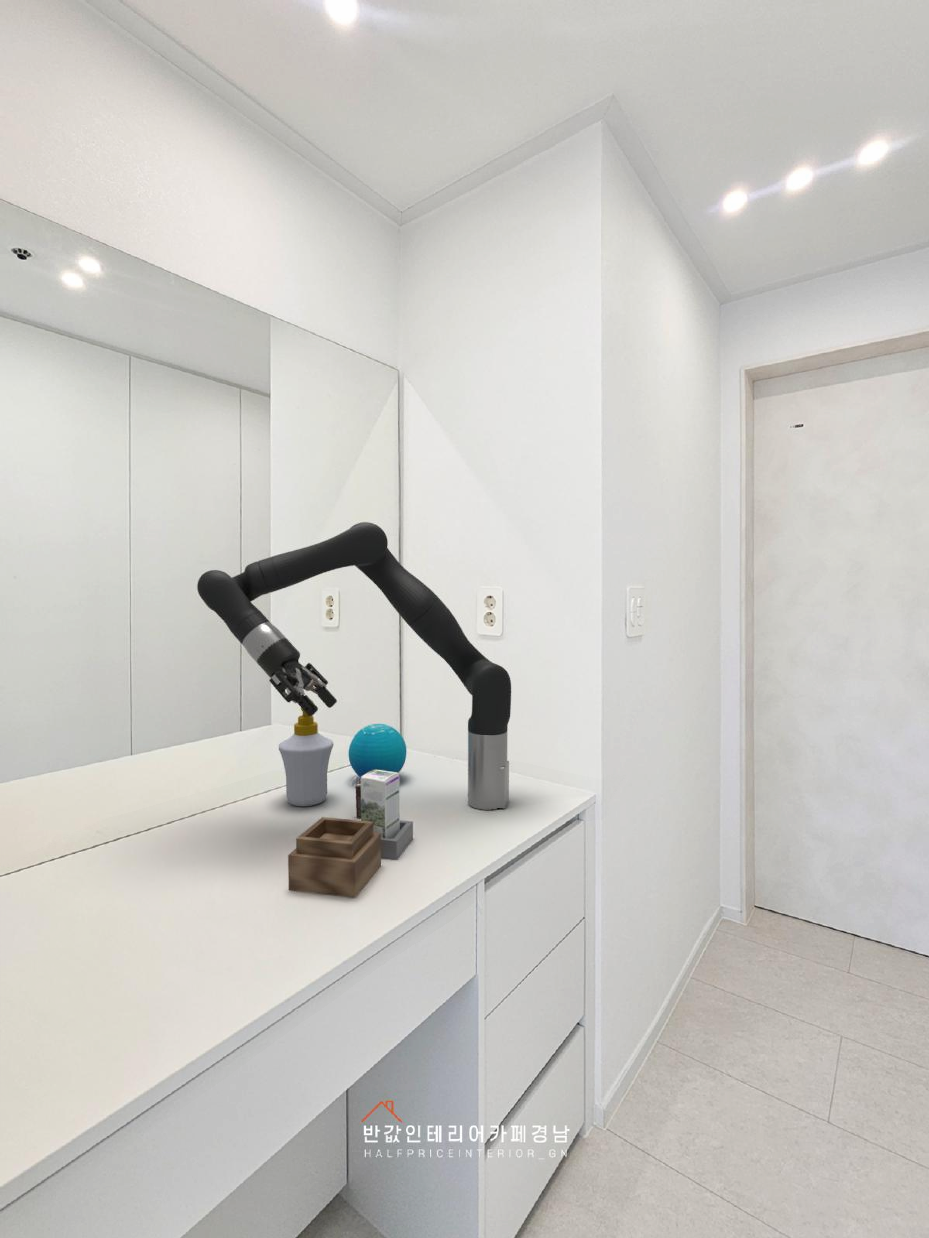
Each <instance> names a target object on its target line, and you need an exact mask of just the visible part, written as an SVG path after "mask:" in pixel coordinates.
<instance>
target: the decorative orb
mask: <svg viewBox="0 0 929 1238" xmlns="http://www.w3.org/2000/svg"><path fill="white" fill-rule="evenodd" d="M348 747H349V749H348V761H349V764H350V766H351V768H352V771H354V772H355V774H356V775H357V776H358V777H360V778H361V777H362V776H363V775H365V774H366V773H368V772H370V771H372V770H375V769H376V770H383V771H390V772H397V773H399V774H400V772H401V771H402V769H403V767H404V766H405V763H406V759H407V745H406V742H405V739H404V737H403V736H402V734H401V733H400V732H399V731H398V730H397V729H396V728H394V727H393V726H390V725H388V724H385V723H372V724H368V725H367V726H363V727H362V728H360V730H358V731H357V733H356V734H355V735H353V738H352V739H351V742H350V744H349V746H348Z"/></svg>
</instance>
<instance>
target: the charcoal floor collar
mask: <svg viewBox="0 0 929 1238" xmlns="http://www.w3.org/2000/svg"><path fill="white" fill-rule="evenodd" d="M413 839H414V821H413V820H404V819H403V820H401V819H400V831H399V832H398V834H397V835H396V836H395V837H394V838H393V839H392V838H381V859H389V860H398V859H399V858H400V856H401V855H402V853H403V852H404V851H405V850H406V848H407V847H408V845H409V844H410V843H411V841H412V840H413Z"/></svg>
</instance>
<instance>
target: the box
mask: <svg viewBox="0 0 929 1238" xmlns="http://www.w3.org/2000/svg"><path fill="white" fill-rule="evenodd" d="M355 804H356V805H355V814H356V815H355V816H356V818H357V819H361V779H360V780H359V782H358V783H357V784H356V786H355Z"/></svg>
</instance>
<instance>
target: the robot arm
mask: <svg viewBox="0 0 929 1238" xmlns="http://www.w3.org/2000/svg"><path fill="white" fill-rule="evenodd" d="M388 541H389V540H388V537H387V534H386V532H385V531H384V530H383V529H382V528H381V527H380V526H378V524H375V523H373V522H370V521H368V522H367V521H362V522H361V521H360V522H358V523H355V524H353V525H352V526H351V527H350V528H348V529H347V530H345V531H343V532H341V533H339V534H337V535H334V536H332V537H331V538H328V539H326V540H323V541H320V542H318V543H316V544H312V545H309V546H305V547H302V548H297V549H294V550H291V551H287V552H286V551H285V552H283V553H280V554H276V555H272V556H270V557H266V558H263V559H260V560H258V561H254V562H251V563H249V564H247V565H246V566H245V567H244V571H243V572H242V573H239V574H237V575H235V576H230V575H229V574H228V573H226V572H225V571H222V570H218V569H212V570H208V571H206V572H204V573H202V574H201V576H200V577H199V578H198V581H197V585H196V588H197V593H198V595H199V596H200V598H201V599H202V601H203V602H204V604H205V606H207V607H208V609H210V610H211V611H213V612H215V613H216V615H217V616H218V617H219V618H220V619H221V620H223V621H222V622H224V623H225V625H226V627H227V628H228V630H229V631H230V633H231V634H232V635H233V636H234V637H235V638H236V639H237V640H238V642H239V643H240V644H241V645H242V647H243V648H244V649H245V650H246V653H248V654H249V656H250V657H251V658H252V659H253V661H254V662H255V663H256V664H258V666H259V667H260V668H261V669H262V670H263V671H264V673H265V674H266V676H268V677H269V678H270V679H269V682H270V683H271V685H272V686H273V687H274V688H275V690H276V691H277V692H278V693H279V694H280V695H281V697H282V698H283V700H285V701H286V702H287V703H291V702H293V704H297V705H298V706H299V707H300V709H301V708H302V709H303V710H304V711H305V712H306V713H307V715H308V716H314V715H315V714H316V713H317V712H318V710H319V707H318V706H317V705H316V703H314V701H313V700H312V699H311V698H310V697H309V696H308V695H307V694H306V693H305V691H306V692H312V693H314V694H316V695H317V697H318V698H319V699H320V700H321V701H322V702H323V704H324V705H325V706H326V707H327V708H329V709H331V708H332V707H334V706H335V705H336V704H337V698H336V697H335V695H333V693H331V692H330V691H329V690H328V688H327V685H328V684H329V681H328V680H327V679H326V678H325V677H324V676H323V675H322V674H321V673H320V672H319V671H318V670H317V668H316V667H315V666H313V664H312V663H310V662H307V664H306V665H303V664H301V663H300V662H299V659H300V657H301V652H300V651H299V650H298V648H296V647H295V646H294V645H293V643H292V642H291V641H290V640H289V639H288V638H287V637H286V636H285V635H284V634H283V632H281V630H280V629H279V628H278V627H276V626H275V625H273V623H272V622H271V621H270V620H269V619H268V618H267V617H266V616H265V614H263V612H262V611H261V610H260V609H259V608H258V607H256V606H255V605H254V604H253V601H255V600H256V599H258V598H259V597H261V596H264V595H268V594H271V593H274V592H277V591H280V590H283V589H286V588H288V587H291V586H294V585H297V584H299V583H302V582H305V581H306V580H309V579H311V578H315V577H316V576H319V575H322V574H323V573H327V572H330V571H334V570H338V569H342V568H347V567H353V566H354V567H356V568H357V569H358V570H359V571H361V572H362V573H363V574H364V575H365V577H367V578H368V579H369V580H370V581H371V582H373V584H374V585H376V587H377V588H378V589H380V592H381V593H382V594H383V595H384V596H385V598H386V599H387V600H388V602H389V603H390V605H391V606H392V607H393V608H394V610H395V611H396V613H398V614H399V616H400V617H401V618H402V619H403V620H404V622H405V623H406V624H407V625H408V626H409V628H410V629H412V631H413V632H414V633H415V634H416V635H417V636H418V637H419V638H420V639H421V640H422V641H423V642H424V644H426V645H427V646H428V647H429V648H430V649H431V650H432V651H434V652H435V653H436V654H437V655H438V656H440V658H442V659H443V660H444V661H445V662H446V664H448V666H449V667H450V668H451V670H452V671H453V672H454V673H455V675H456V676H457V678H458V679H459V680H460V682H461V683H462V685H463V686H464V687H465V689H466V690H467V691H468V693H469V694H470V695H471V715H470V717H469V718H468V720H467V804H468V805H469V806H470V807H471V808H474V809H476V810H477V809H478V810H485V811H487V810H488V811H491V810H492V809H493V810H498V809H497V808H505V809H506V807H507V805H508V803H509V801H508V800H510V784H509V783H510V762H509V760H508V729H509V728H508V724H509V721H510V719H511V709H512V707H511V706H512V681H511V677H510V674H509V673H508V671H507V670H506V669H505V668H504V667H503V666H502V665H499V664H498V663H495V662H492V661H491V660H489V659H488V658H487V657H486V656H485V655H484V654H482V653H481V652H480V650H478V649H477V648H476V647H475V646H474V644H472V643H471V641H470V640H469V639H468V637H467V636H466V634H465V632H464V631H463V629H462V627H461V626H460V624H459V621H458V620H457V619H456V617H455V615H453V613H452V612H451V610H450V609H449V607H448V606H447V605H446V604H445V603H444V602H443V600H441V599H440V597H438V595H437V594H436V593H435V592H434V591H433V590H431V588H430V587H429V586H427V585H426V584H425V583H424V582H423V581H421V580H420V579H419V578H417V577H416V576H415V575H414V574H412V573H411V572H409V571H408V570H407V569H406V568H405V567H404V566H403V565H402V564H401V563H400V562H399V560H398V559H397V558H396V557H395V556H394V555H393V553H392V552H391V551H390V549H389V547H388V545H389V544H388ZM310 699H311V700H310ZM312 701H313V702H312ZM507 802H508V803H507ZM506 804H507V805H506Z"/></svg>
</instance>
